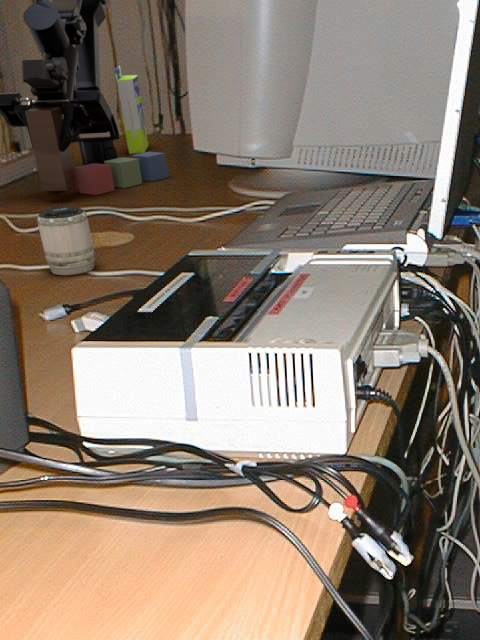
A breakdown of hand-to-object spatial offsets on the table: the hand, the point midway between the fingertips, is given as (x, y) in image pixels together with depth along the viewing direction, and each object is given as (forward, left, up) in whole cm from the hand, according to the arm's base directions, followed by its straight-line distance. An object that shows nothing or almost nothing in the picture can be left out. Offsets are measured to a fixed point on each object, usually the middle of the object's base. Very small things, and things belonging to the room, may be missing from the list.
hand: (48, 150), depth 156 cm
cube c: (+1, +9, -9) cm, 13 cm away
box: (-22, +51, -9) cm, 56 cm away
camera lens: (+33, -34, -9) cm, 49 cm away
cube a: (+3, +23, -9) cm, 24 cm away
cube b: (+2, +16, -9) cm, 18 cm away
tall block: (0, +1, -7) cm, 7 cm away
